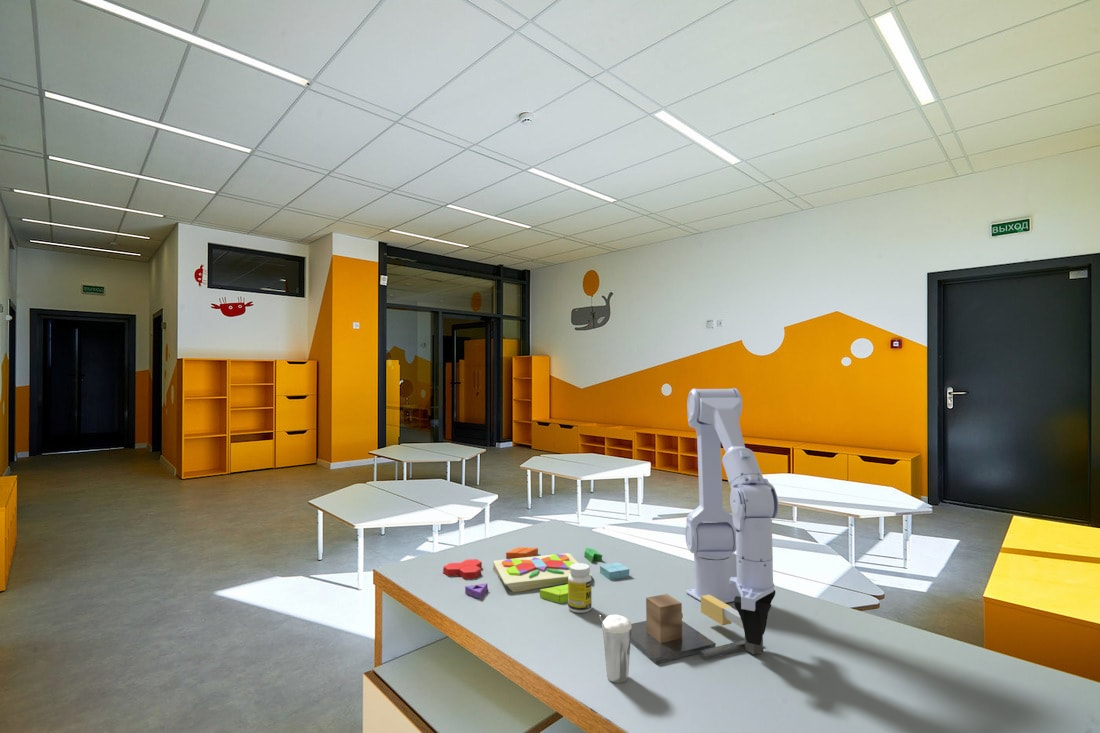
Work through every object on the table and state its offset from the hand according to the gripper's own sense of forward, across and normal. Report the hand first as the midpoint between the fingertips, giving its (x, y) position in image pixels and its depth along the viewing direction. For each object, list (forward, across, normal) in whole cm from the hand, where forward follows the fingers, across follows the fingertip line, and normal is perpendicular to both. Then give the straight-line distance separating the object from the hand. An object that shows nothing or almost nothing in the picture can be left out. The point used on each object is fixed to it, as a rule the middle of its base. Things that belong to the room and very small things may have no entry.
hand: (755, 637), depth 90 cm
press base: (+2, +1, -11) cm, 12 cm away
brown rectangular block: (+1, +3, -15) cm, 15 cm away
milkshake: (+3, +18, -18) cm, 26 cm away
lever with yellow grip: (+2, -3, -5) cm, 6 cm away
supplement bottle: (+3, -2, -34) cm, 34 cm away
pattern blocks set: (+3, -14, -50) cm, 52 cm away
